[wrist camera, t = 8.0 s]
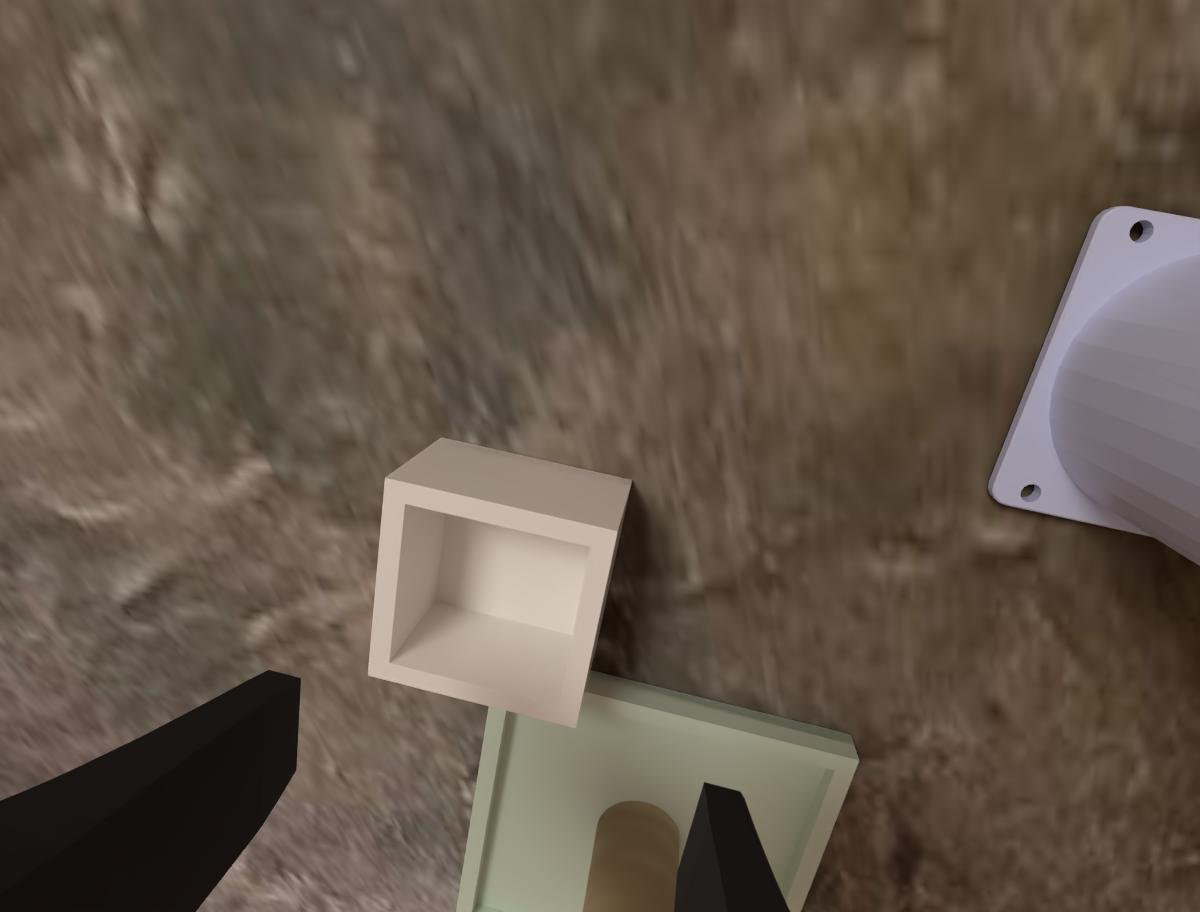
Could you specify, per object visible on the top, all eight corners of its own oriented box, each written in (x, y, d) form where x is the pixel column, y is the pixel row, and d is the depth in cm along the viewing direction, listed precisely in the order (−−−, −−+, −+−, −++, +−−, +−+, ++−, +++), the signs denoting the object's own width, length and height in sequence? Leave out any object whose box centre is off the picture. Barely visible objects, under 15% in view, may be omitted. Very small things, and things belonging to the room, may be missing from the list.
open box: (632, 479, 20) (617, 531, 17) (596, 648, 22) (575, 728, 19) (441, 437, 21) (384, 477, 17) (422, 605, 23) (367, 675, 19)
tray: (850, 734, 22) (859, 760, 21) (758, 980, 26) (761, 1014, 25) (504, 648, 23) (494, 669, 22) (463, 898, 27) (453, 927, 25)
